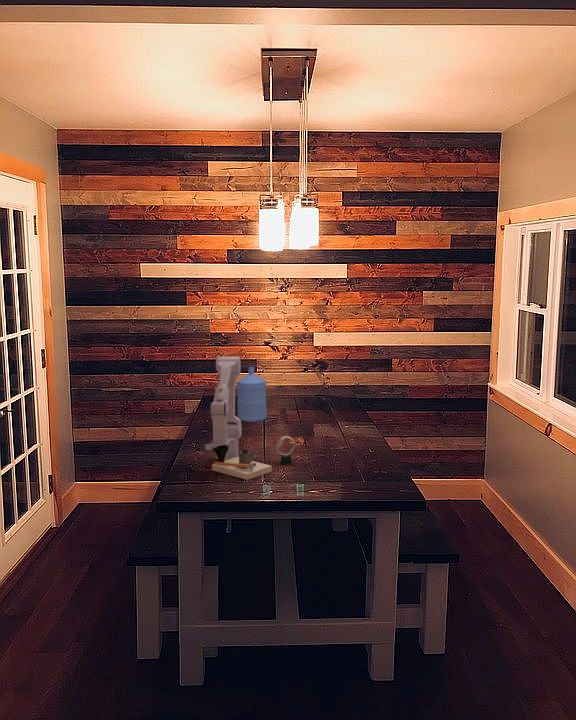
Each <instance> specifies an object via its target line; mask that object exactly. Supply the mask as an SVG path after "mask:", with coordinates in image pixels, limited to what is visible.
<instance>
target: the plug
mask: <svg viewBox="0 0 576 720" xmlns="http://www.w3.org/2000/svg"><path fill="white" fill-rule="evenodd" d="M252 457H253V456H252V451H249V447H248V448H247V447H243V448H242V449H241V451H240V452H239V464H249V463H253V462H252V461H253V459H252ZM254 466H256V463H254ZM240 468H244V469H247V468H248V467H240Z"/></svg>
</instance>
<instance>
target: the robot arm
mask: <svg viewBox="0 0 576 720" xmlns="http://www.w3.org/2000/svg"><path fill="white" fill-rule="evenodd" d="M241 363H242V362H241V357H240V356H217V357H216V359H215V369H216V371H217V373H218V375H219V377H218V378H219V382H218V386H216V387H215V391H214V395H213V402H211V404H210V415H211V421H212V436H213V437H212V438H213V439H212V442H210V443H207V444H205V448H204V449H205V450H206V451H212V449H213V452H214V453H215V454H216V455H215V457H214V459H217V462H224V461H226V460H229V459H232V458H235V457H238V458H239V439H240V438H241V437H242V435H243V434H242V433H243V429H242V421H241V420H240V419H239V418H238V416H236V383H237V382H236V381H237V378H238V377H240V376H241V369H242V368H241V366H242V364H241Z"/></svg>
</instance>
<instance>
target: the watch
mask: <svg viewBox="0 0 576 720" xmlns="http://www.w3.org/2000/svg"><path fill="white" fill-rule="evenodd" d="M285 439H289V440H291V441H292V448H291V449H290V451H289V452H285V453H283V452H281V451H280V450H279V449H280V448H281V446H282V445H283V443H284V440H285ZM295 447H296V445H295V440H294V439H293V437H291V436H287V435H284V436H281V437H280V438H279V440H278V441H277V443H276V445H275V448H276V451H277V453H278V454H279V455H280V465H292V454H293V452H294V450H295Z"/></svg>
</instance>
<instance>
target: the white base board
mask: <svg viewBox="0 0 576 720" xmlns="http://www.w3.org/2000/svg"><path fill="white" fill-rule="evenodd" d="M224 462H227V463H239V458H238V457H235V458H232V459H229V460H226V461H224ZM252 462H253V463H256V466H254V469H253V470H250V469H249V468H247V469H244V468H240V467H236V466H225V465H215V463H213V464H211V469H212V470H211V471H215V472H216V473H222V474H225V475H228V476H232V477H235V478H239V479H241V480H242V479H243V480H246V481H249V480H251V479H255V478H257V477H260V476H263V475H265V474H269V473H271V472H272V471H273V468H272V467H273V466H272V465H270V464H267V463H266V464H265V463H261V462H257V461H255V460H252Z"/></svg>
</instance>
